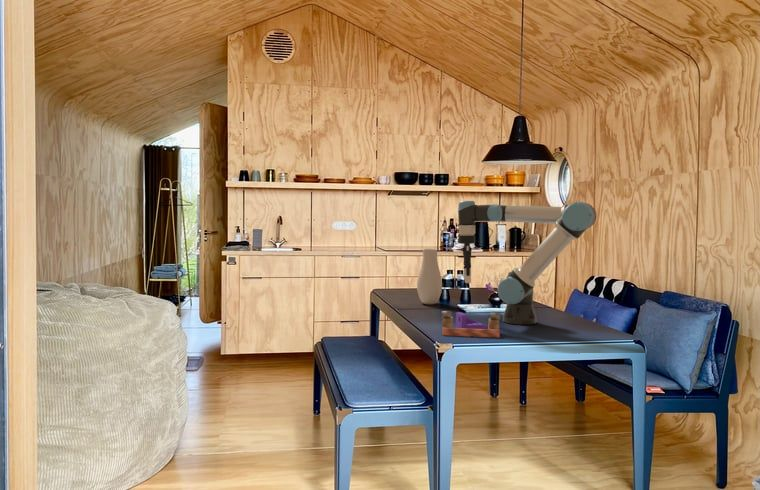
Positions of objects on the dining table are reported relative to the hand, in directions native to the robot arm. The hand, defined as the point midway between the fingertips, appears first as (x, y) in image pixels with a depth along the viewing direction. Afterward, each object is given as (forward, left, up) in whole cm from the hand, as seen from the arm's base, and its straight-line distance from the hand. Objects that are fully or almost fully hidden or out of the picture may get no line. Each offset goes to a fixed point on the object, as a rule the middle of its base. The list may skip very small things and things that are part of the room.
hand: (467, 281), depth 279 cm
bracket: (-2, +14, -19) cm, 24 cm away
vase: (+20, -53, -19) cm, 60 cm away
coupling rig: (-1, +25, -19) cm, 31 cm away
